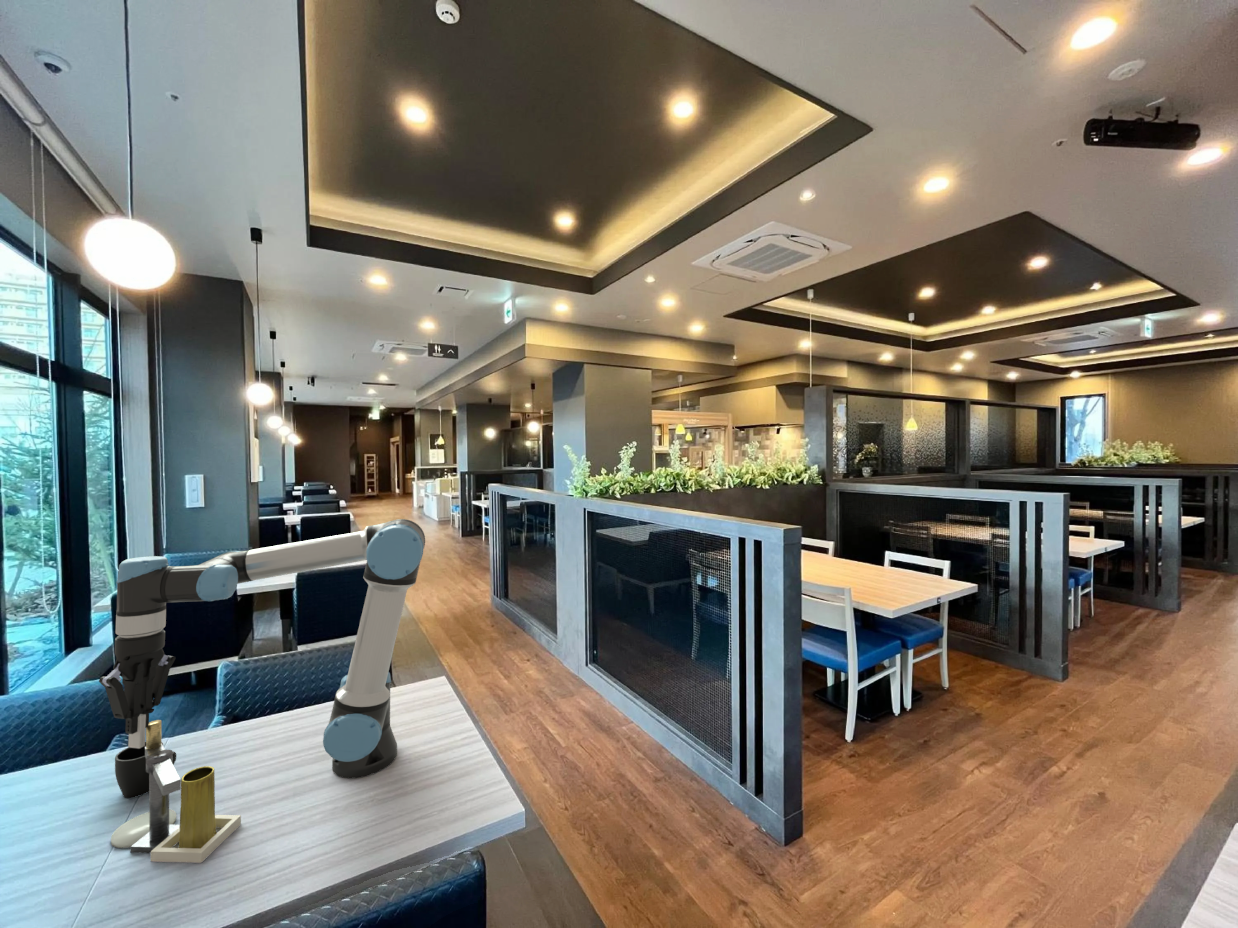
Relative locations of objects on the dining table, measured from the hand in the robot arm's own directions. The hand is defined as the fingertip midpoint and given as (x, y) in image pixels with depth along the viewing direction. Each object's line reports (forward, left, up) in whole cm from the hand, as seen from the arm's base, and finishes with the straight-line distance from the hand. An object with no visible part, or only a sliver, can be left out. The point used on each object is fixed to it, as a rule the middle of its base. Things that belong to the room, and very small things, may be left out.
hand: (136, 746), depth 102 cm
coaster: (0, -2, -19) cm, 19 cm away
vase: (-14, +1, -19) cm, 24 cm away
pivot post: (-6, +1, -19) cm, 20 cm away
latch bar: (-8, +2, -4) cm, 9 cm away
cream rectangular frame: (-14, +1, -19) cm, 23 cm away
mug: (+11, -14, -19) cm, 26 cm away
